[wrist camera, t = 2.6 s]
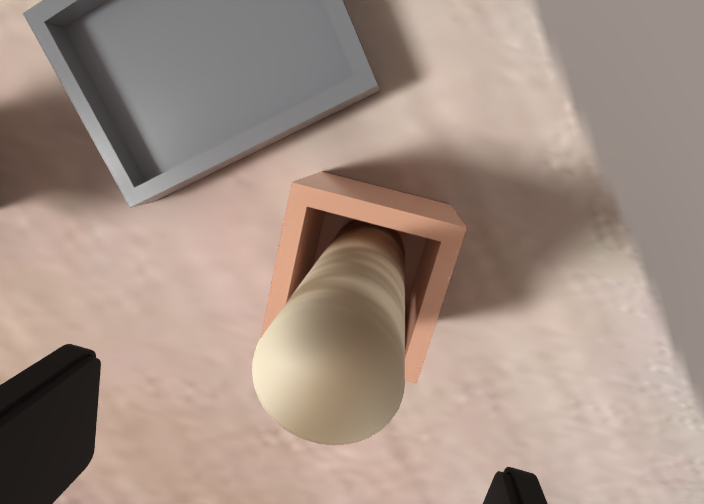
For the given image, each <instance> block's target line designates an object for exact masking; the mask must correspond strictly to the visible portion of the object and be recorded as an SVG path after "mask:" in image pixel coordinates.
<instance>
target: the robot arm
mask: <svg viewBox="0 0 704 504" xmlns="http://www.w3.org/2000/svg"><path fill="white" fill-rule="evenodd" d="M100 369H101V362H100V360H99V359H97V358H96V354H95V352H94V351H93V350H90V349H86V348H83V347H79V346H76V345H72V344H66V345H64V346H62V347H60V348H59V349H57V350H56V351H54V352H52V353H51V354H49V355H48V356H46V357H44V358H43V359H41V360H40V361H38V362H36V363H35V364H33V365H32V366H30V367H28V368H27V369H25V370H24V371H22V372H21V373H19V374H17V375H16V376H14V377H13V378H11V379H9V380H8V381H6V382H5V383H3V384H1V385H0V504H53V502H54V501H55V500H56V499H57V498H58V497H59V496H60V495H61V494H62V493H63V492H64V491H65V490H66V489H67V488H68V487H69V485H70V484H71V483H72V482H73V481H74V480H75V479H76V478H77V477H78V476H79V475H80V474H81V473H82V472H83V471H84V470H85V468H86V467H87V466H88V464H89V463H90V461H91V459H92V457H93V454H94V448H95V435H96V421H97V408H98V395H99V382H100ZM483 504H547V501H546V499H545V496H544V494H543V491H542V489H541V486H540V484H539V481H538V479H537V477H536V475H534V474H533V473H529V472H526V471H522V470H519V469H515V468H511V467H507V468H506V469H505V470H504V472H500V471H498V472H497V473H496V474H495V476H494V478H493V481H492V483H491V485H490V488H489V490H488V493H487V495H486V497H485V500H484V502H483Z"/></svg>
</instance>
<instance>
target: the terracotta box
mask: <svg viewBox="0 0 704 504" xmlns="http://www.w3.org/2000/svg"><path fill="white" fill-rule="evenodd" d="M356 219H357V220H360V221H364V222H368V223H372V224H376V225H379V226H383V227H387V228H391V229H395V230H396V231H397V232H398V234H399V235H400V237H401V239H402V241H403V244H404V248H405V380H406V381H409V382H413V383H416V384H417V381H418V378H419V375H420V372H421V369H422V366H423V363H424V360H425V356H426V353H427V350H428V347H429V344H430V341H431V338H432V335H433V332H434V329H435V326H436V322H437V319H438V316H439V313H440V310H441V307H442V304H443V301H444V298H445V295H446V292H447V288H448V285H449V282H450V279H451V276H452V273H453V270H454V267H455V264H456V261H457V258H458V254H459V251H460V248H461V245H462V242H463V239H464V236H465V233H466V230H467V227H466V226H465V224H464V223H463V221H462V220H461V219H460V217H459V216H458V214H457V213H456V212H455V210H454V209H453V207H452V206H451V205H450V204H446V203H442V202H438V201H435V200H431V199H427V198H423V197H419V196H415V195H411V194H407V193H403V192H400V191H396V190H392V189H388V188H384V187H380V186H376V185H372V184H368V183H365V182H361V181H357V180H353V179H349V178H345V177H341V176H337V175H333V174H330V173H326V172H322V171H321V172H319V173H316V174H313V175H310V176H308V177H305V178H302V179H299V180H297V181H294V182H292V183H291V188H290V193H289V198H288V203H287V208H286V213H285V218H284V223H283V228H282V233H281V238H280V243H279V248H278V253H277V258H276V263H275V268H274V273H273V278H272V283H271V288H270V293H269V298H268V303H267V308H266V313H265V318H264V323H263V328H262V333H261V337H262V336H263V334H264V333H265V331H266V330H267V329H268V327H269V326H270V324H271V323H272V322H273V320H274V319H275V318H276V316H277V315H278V314H279V312H280V311H281V310H282V308H283V307H284V305H285V304H286V303H287V301H288V300H289V299H290V297H291V296H292V295H293V293H294V292H295V290H296V289H297V288H298V286H299V285H300V284H301V282H302V281H303V280H304V278H305V277H306V275H307V274H308V273H309V271H310V270H311V269H312V267H313V266H314V265H315V263H316V262H317V261H318V259H319V258H320V256H321V255H322V254H323V252H324V251H325V250H326V248H327V247H328V246H329V244H330V243H331V241H332V240H333V239H334V237H335V236H336V235H337V233H338V232H339V231H340V230H341V228H342V227H344V226H345V225H346V224H347V223H349V222H351V221H353V220H356ZM260 339H261V338H260Z"/></svg>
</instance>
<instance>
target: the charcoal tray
mask: <svg viewBox="0 0 704 504" xmlns="http://www.w3.org/2000/svg"><path fill="white" fill-rule="evenodd" d="M23 15H24V16H25V18H26V20H27V22H28V24H29V26H30V27H31V29H32V31H33V33H34V35H35V36H36V38H37V40H38V42H39V44H40V46H41V47H42V49H43V51H44V53H45V55H46V56H47V58H48V60H49V62H50V64H51V65H52V67H53V69H54V71H55V73H56V75H57V76H58V78H59V80H60V82H61V84H62V85H63V87H64V89H65V91H66V93H67V94H68V96H69V98H70V100H71V102H72V104H73V105H74V107H75V109H76V111H77V113H78V114H79V116H80V118H81V120H82V122H83V124H84V125H85V127H86V129H87V131H88V133H89V134H90V136H91V138H92V140H93V142H94V143H95V145H96V147H97V149H98V151H99V153H100V154H101V156H102V158H103V160H104V162H105V163H106V165H107V167H108V169H109V171H110V172H111V174H112V176H113V178H114V180H115V182H116V183H117V185H118V187H119V189H120V191H121V192H122V194H123V196H124V198H125V200H126V202H127V203H128V205H129V207H134V206H138V205H143V204H147V203H151V202H154V201H156V200H158V199H160V198H162V197H164V196H167V195H169V194H171V193H173V192H175V191H177V190H179V189H181V188H183V187H185V186H187V185H189V184H191V183H193V182H195V181H197V180H199V179H201V178H203V177H205V176H207V175H209V174H211V173H213V172H215V171H217V170H219V169H222V168H224V167H226V166H228V165H230V164H232V163H234V162H236V161H238V160H240V159H242V158H244V157H246V156H248V155H250V154H252V153H254V152H256V151H258V150H260V149H262V148H264V147H266V146H268V145H270V144H272V143H274V142H277V141H279V140H281V139H283V138H285V137H287V136H289V135H291V134H293V133H295V132H297V131H299V130H301V129H303V128H305V127H307V126H309V125H311V124H313V123H315V122H317V121H319V120H321V119H323V118H325V117H327V116H329V115H332V114H334V113H336V112H338V111H340V110H342V109H344V108H346V107H348V106H350V105H352V104H354V103H356V102H358V101H360V100H362V99H364V98H366V97H368V96H370V95H372V94H374V93H376V92H378V91H380V89H379V86H378V84H377V81H376V79H375V77H374V74H373V72H372V69H371V67H370V64H369V62H368V60H367V57H366V55H365V52H364V50H363V48H362V45H361V43H360V40H359V38H358V35H357V33H356V31H355V28H354V26H353V23H352V21H351V18H350V16H349V14H348V11H347V9H346V6H345V4H344V2H343V0H43V1H41V2H39V3H38V4H36V5H35V6H33V7H32V8H30V9H29V10H27V11H26V12H24V13H23Z"/></svg>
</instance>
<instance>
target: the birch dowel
mask: <svg viewBox="0 0 704 504" xmlns="http://www.w3.org/2000/svg"><path fill="white" fill-rule="evenodd" d="M252 377H253V383H254V387H255V390H256V393H257V396H258V398H259V400H260V402H261V404H262V405H263V407H264V409H265V410H266V411H267V412H268V414H269V415H270V416H271V417H272V418H273V419H274V420H275V421H276V422H277V423H278V424H279V425H280V426H282V427H283V428H284V429H285V430H287V431H289V432H290V433H292V434H294V435H296V436H298V437H300V438H302V439H305V440H308V441H310V442H315V443H319V444H326V445H344V444H351V443H355V442H359V441H361V440H364V439H367V438H369V437H370V436H372V435H374V434H376V433H377V432H379V431H380V430H381V429H383V428H384V427H385V426H386V425H387V424H388V423H389V422H390V421H391V419H392V418H393V417H394V415H395V414H396V412H397V410H398V409H399V406H400V404H401V401H402V398H403V393H404V386H405V248H404V244H403V241H402V239H401V237H400V235H399V234H398V232H397V231H396V230H395V229H391V228H387V227H383V226H379V225H376V224H372V223H368V222H364V221H360V220H357V219H356V220H353V221H351V222H349V223H347V224H346V225H345V226H344V227H342V228H341V230H340V231H339V232H338V233H337V235H336V236H335V237H334V239H333V240H332V241H331V243H330V244H329V246H328V247H327V248H326V250H325V251H324V252H323V254H322V255H321V256H320V258H319V259H318V261H317V262H316V263H315V265H314V266H313V267H312V269H311V270H310V271H309V273H308V274H307V275H306V277H305V278H304V280H303V281H302V282H301V284H300V285H299V286H298V288H297V289H296V290H295V292H294V293H293V295H292V296H291V297H290V299H289V300H288V301H287V303H286V304H285V305H284V307H283V308H282V310H281V311H280V312H279V314H278V315H277V316H276V318H275V319H274V320H273V322H272V323H271V324H270V326H269V327H268V329H267V330H266V331H265V333H264V334H263V336H262V337H261V339H260V340H259V342H258V345H257V347H256V349H255V353H254V356H253V363H252Z"/></svg>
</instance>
